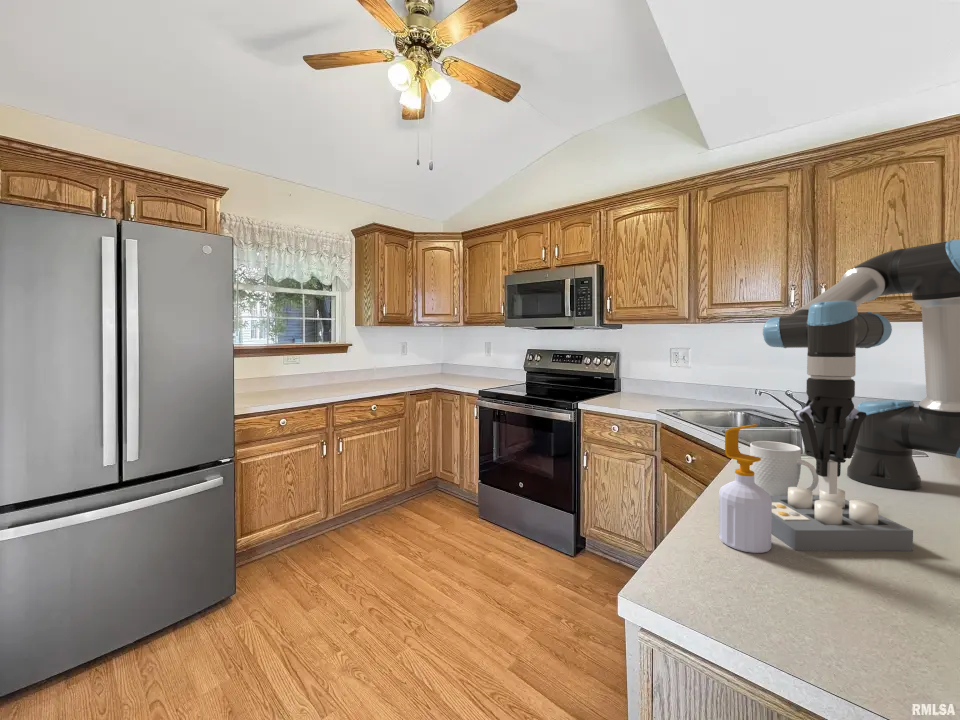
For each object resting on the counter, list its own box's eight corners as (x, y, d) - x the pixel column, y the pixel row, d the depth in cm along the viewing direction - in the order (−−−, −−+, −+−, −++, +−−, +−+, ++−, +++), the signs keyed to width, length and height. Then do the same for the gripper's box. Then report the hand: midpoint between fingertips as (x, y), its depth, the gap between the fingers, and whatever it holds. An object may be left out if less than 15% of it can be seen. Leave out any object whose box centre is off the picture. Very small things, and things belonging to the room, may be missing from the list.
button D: (830, 520, 87) (830, 500, 87) (848, 530, 83) (848, 508, 83) (809, 520, 87) (809, 500, 87) (825, 530, 83) (825, 508, 83)
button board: (836, 512, 98) (836, 494, 97) (912, 550, 80) (913, 528, 79) (741, 512, 99) (741, 494, 98) (795, 550, 81) (795, 528, 81)
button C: (802, 505, 95) (802, 486, 95) (817, 513, 91) (817, 493, 91) (783, 505, 95) (783, 486, 95) (796, 513, 91) (797, 493, 91)
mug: (825, 500, 105) (826, 449, 104) (809, 510, 99) (809, 456, 98) (760, 484, 117) (760, 438, 117) (742, 492, 111) (742, 444, 111)
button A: (834, 505, 95) (834, 486, 95) (850, 513, 90) (850, 493, 90) (814, 505, 95) (814, 486, 95) (829, 513, 91) (829, 493, 90)
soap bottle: (755, 558, 78) (756, 430, 77) (709, 538, 86) (709, 422, 85) (781, 547, 82) (782, 425, 81) (734, 529, 90) (735, 418, 89)
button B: (864, 520, 87) (865, 499, 87) (884, 530, 82) (884, 508, 82) (843, 520, 87) (843, 499, 87) (861, 530, 83) (861, 508, 82)
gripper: (847, 375, 87) (845, 485, 88) (784, 376, 88) (782, 485, 89) (880, 378, 80) (877, 498, 81) (811, 379, 80) (808, 498, 81)
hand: (827, 491), depth 85 cm, fingers closed
